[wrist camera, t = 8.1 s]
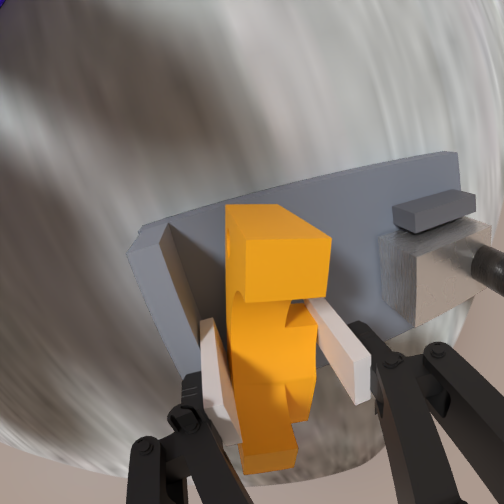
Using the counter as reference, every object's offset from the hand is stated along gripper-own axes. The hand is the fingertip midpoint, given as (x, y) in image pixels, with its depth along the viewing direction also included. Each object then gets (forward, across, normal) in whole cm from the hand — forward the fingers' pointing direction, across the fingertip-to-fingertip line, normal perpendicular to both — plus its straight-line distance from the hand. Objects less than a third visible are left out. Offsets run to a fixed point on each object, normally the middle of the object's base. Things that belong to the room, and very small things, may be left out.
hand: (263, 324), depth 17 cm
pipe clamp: (0, 0, +1) cm, 1 cm away
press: (+3, +6, 0) cm, 7 cm away
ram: (+2, +12, 0) cm, 12 cm away
